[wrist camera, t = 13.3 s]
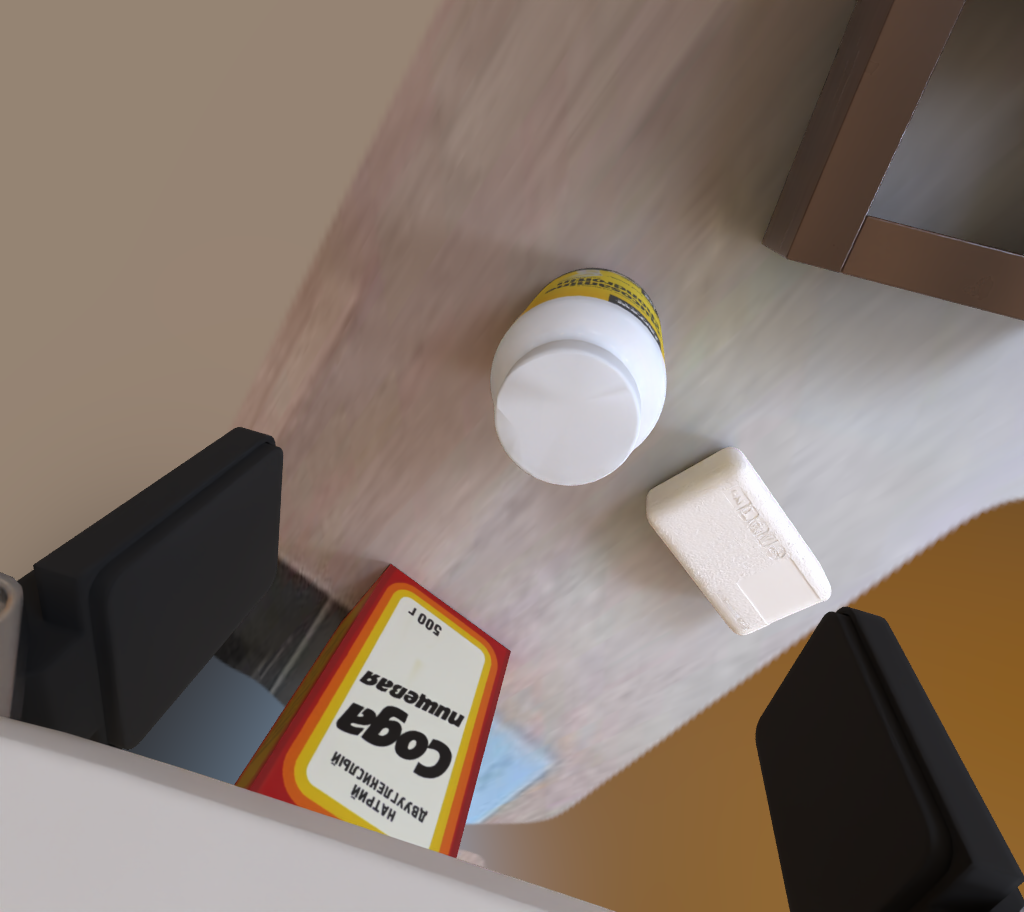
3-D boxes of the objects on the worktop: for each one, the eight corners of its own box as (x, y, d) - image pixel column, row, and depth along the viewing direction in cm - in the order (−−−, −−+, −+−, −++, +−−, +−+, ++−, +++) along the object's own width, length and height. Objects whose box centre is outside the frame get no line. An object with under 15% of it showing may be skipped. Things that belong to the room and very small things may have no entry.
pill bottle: (690, 328, 29) (719, 417, 18) (596, 422, 32) (576, 545, 21) (586, 234, 28) (555, 272, 17) (499, 339, 31) (428, 425, 20)
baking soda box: (340, 622, 41) (181, 865, 26) (390, 563, 38) (242, 801, 24) (453, 702, 42) (359, 976, 28) (510, 651, 39) (437, 927, 25)
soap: (640, 490, 33) (640, 518, 30) (734, 436, 31) (743, 462, 28) (730, 608, 35) (737, 644, 32) (824, 566, 33) (840, 601, 30)
